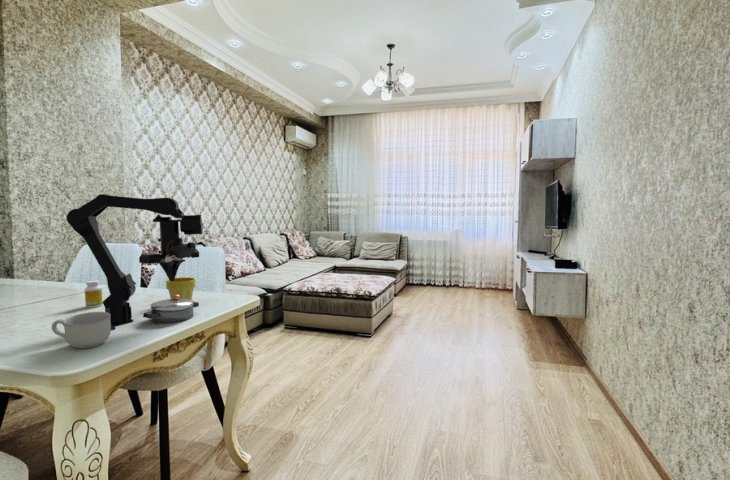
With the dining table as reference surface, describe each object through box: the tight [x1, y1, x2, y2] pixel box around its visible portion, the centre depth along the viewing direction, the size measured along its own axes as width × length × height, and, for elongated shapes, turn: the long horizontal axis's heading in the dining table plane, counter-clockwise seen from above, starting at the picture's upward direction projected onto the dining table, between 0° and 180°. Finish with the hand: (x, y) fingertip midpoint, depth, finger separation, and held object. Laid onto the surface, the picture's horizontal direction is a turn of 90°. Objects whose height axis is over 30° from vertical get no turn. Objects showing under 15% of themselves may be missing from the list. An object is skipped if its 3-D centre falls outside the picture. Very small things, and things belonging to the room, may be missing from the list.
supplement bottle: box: [84, 279, 104, 309], centre depth 151 cm, size 5×5×10 cm
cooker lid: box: [150, 295, 194, 312], centre depth 135 cm, size 13×13×3 cm
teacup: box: [51, 311, 112, 350], centre depth 109 cm, size 14×11×8 cm
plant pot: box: [165, 276, 196, 300], centre depth 154 cm, size 10×10×10 cm
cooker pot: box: [142, 300, 200, 325], centre depth 135 cm, size 18×13×4 cm
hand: (172, 280), depth 134 cm, fingers closed
